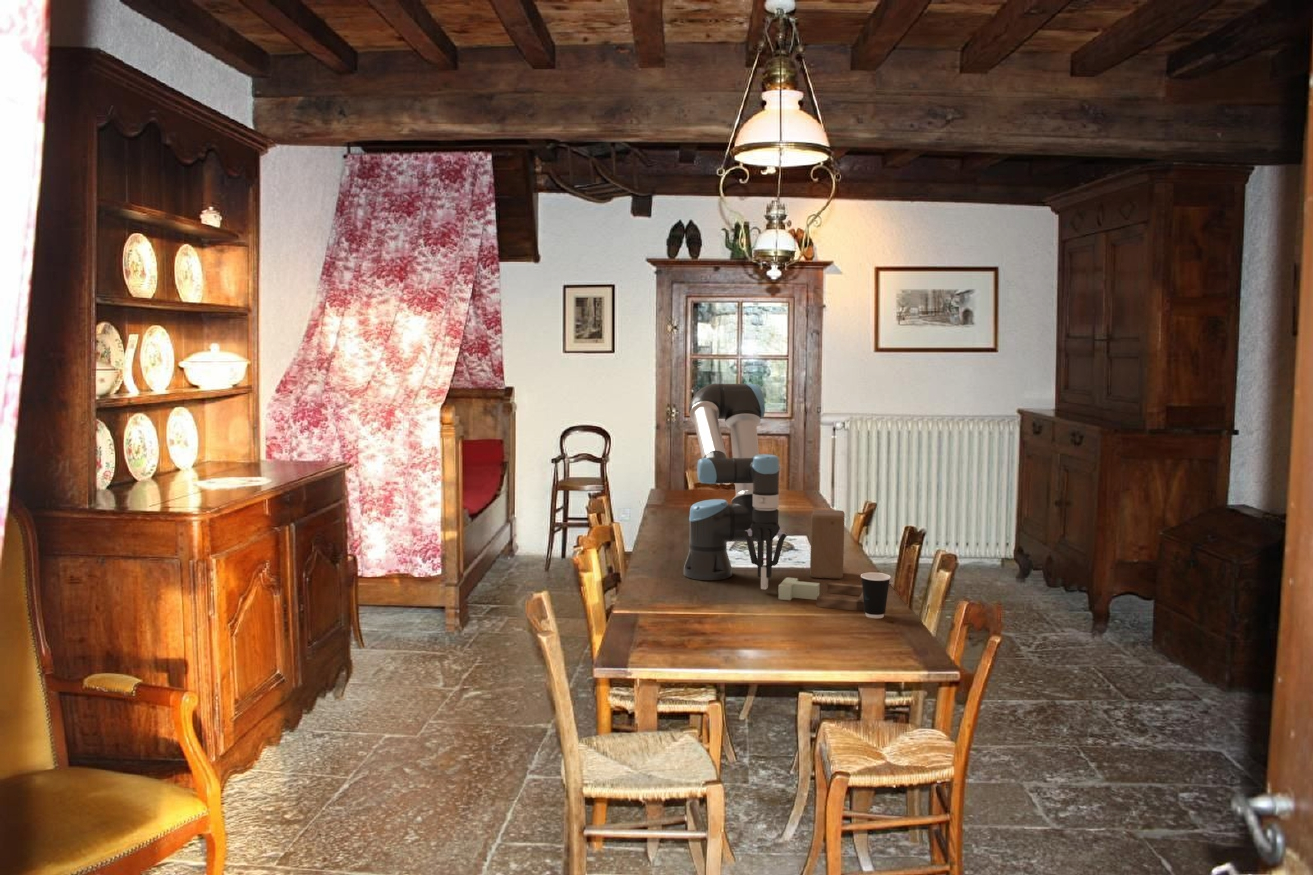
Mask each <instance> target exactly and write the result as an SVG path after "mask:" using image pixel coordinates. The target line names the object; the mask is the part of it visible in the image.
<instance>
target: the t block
mask: <svg viewBox="0 0 1313 875" xmlns="http://www.w3.org/2000/svg"><path fill="white" fill-rule="evenodd" d="M820 584H821V583H820V582H812V581H811V582H809V581H799V578H797V577H785V578H784V579H783V580H782V582H780V583H779V584H778V597H777V598H778V599H777V600H782V601H783V600H784V601H791V600H792V599H803V600H804V599H806V600H813V601H814V600H816V601H817V597H818V596H820V591H821V589H820V588H821V587H820Z"/></svg>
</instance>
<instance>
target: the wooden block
mask: <svg viewBox="0 0 1313 875" xmlns="http://www.w3.org/2000/svg"><path fill="white" fill-rule="evenodd" d="M845 518H846V516H845V511H844V510H835V509H813V510H812V513H811V517H810V552H809V554H810V561H809V575H810V577H811V578H814V579H817V578H818V579H835V580H836V579H837V580H841V579H842V578H843V576H844V560H845V559H844V557H845V556H844V554H845V551H844V550H845Z"/></svg>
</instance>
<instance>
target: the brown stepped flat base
mask: <svg viewBox="0 0 1313 875" xmlns="http://www.w3.org/2000/svg"><path fill="white" fill-rule="evenodd" d="M826 588H827V589H826V593H827V594H839V595H850V596H858V598H857V599H854V598H853V599H852V598H843V597H833V596H832V597H831V596H822V595H821V596H820V595H819V596H818V597H817V600H816V607H818V608H830V609H835V610H836V609H837V610H848V611H859V612H865V611H864V600H863V588H862V584H860V585H858V584H847V583H836V582H828V583H827V584H826Z"/></svg>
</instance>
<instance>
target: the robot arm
mask: <svg viewBox="0 0 1313 875" xmlns="http://www.w3.org/2000/svg"><path fill="white" fill-rule="evenodd" d="M765 404H766V403H765V398H764V393H763V391H762V389H761V387H760V386H759V385H758V384H755V383H748V382H746V383H745V382H744V383H711V384H707V385H705V386H703V387H702V388H700V389H699V390H698V391H697V392H695V394H694V395H693V397H692V398H691V400H690V403H689V406H688V413H689V418H690V420H691V422H692V423H693V424H694V427H695V432H696V437H697V441H698V447H699V452H700V457H701V458H699V459H698V460H697V464H696V473H697V475H696V476H697V479H698V480H697V481H698V482H699V483H700V484H710V485H715V484H717V485H718V484H734V488H735V496H734V497H733V498H732V499H731V503H730V504H728V503H729V502H728V501H727V500H726V499H721V498H719V499H717V498H715V499H714V498H713V499H705V500H701V501H698V502H695V503H693V504H692V505H691V506H690V509H689V518H688V521H689V542H688V543H689V546H688V547H689V549H688V550H689V551H688V554H687V556H686V560H685V563H684V566H683V576H684V577H687V578H688V579H693V580H699V581H719V580H725V579H728V578H731V577H732V576H733V567H732V564H731V561H730V558H729V554H728V550H727V547H728V546H727V543H730V542H741V543H742V542H746V543H747V548H748V553H749V557H750V558H749V559H750V562H751V564H753V565H755V566H757V577H758V578H760V590H767V589H768V588H769V579H770V578H771V577H772V575H773V574H772V569H773V568H772V567H774V566H775V567H776V565H778V563H779V560H780V556H781V552H782V549H783V545H784V542H785V540H786V538H787V536H788V532H784V531H783V530H781V527H780V525H779V509H778V508H779V505H780V504H779V503H780V501H779V497H780V495H779V494H780V489H779V488H780V485H779V484H780V469H781V468H780V458H779V457H778V456H777V455H775V454H767V453H765V454H760V450H759V437H758V429H757V427H758V426H759V425H760V424H761V422H762V421H761V419H764V417H765V413H766V412H765V411H766V408H765ZM719 420H724V424H725V426H726V427H727V428H728V429H730V438H731V439H730V442H731V451H732V453H731V454H732V457H728V456H727V453H726V447H725V444H724V439H723V436H722V431H721V426H720V423H719ZM776 536H777V538H778V540H777V543H776V546H775V547H776V548H775V551H774V554H773V542H774V538H775V537H776ZM755 543H756V544H757V550H756V547H755ZM764 544H765V545H766V546H765V547H766V548H765V549H764ZM764 550H765V552H766V553H765V554H764ZM756 551H757V552H756ZM764 555H765V562H764Z"/></svg>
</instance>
